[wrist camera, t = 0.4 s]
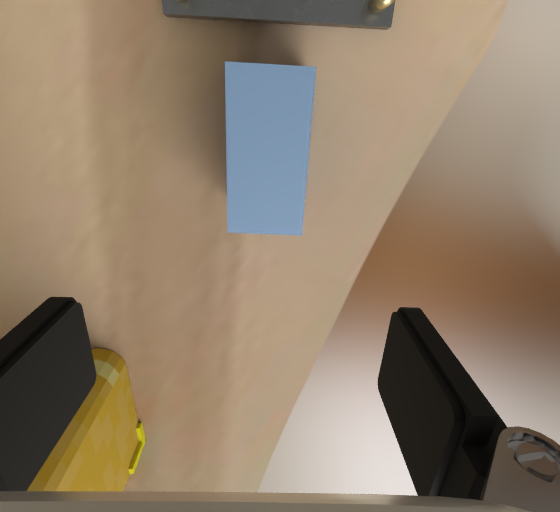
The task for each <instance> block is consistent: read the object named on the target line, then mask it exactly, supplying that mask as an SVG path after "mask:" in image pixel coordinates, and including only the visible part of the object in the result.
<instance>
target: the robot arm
mask: <svg viewBox="0 0 560 512" xmlns="http://www.w3.org/2000/svg"><path fill="white" fill-rule="evenodd" d="M95 381H96V369H95V364H94V359H93V355H92V350H91V346H90V341H89V336H88V332H87V327H86V323H85V318H84V313H83V309H82V305H81V304H80V303H78V302H76V300H75V299H74V298H72V297H50V298H48V299H47V300H46V301H45V302H44V303H42V304H41V305H40V306H39V307H38V308H37V309H35V310H34V311H33V312H32V313H31V314H30V315H28V316H27V317H26V318H25V319H24V320H23V321H21V322H20V323H19V324H18V325H17V326H16V327H14V328H13V329H12V330H11V331H10V332H9V333H7V334H6V335H5V336H4V337H3V338H2V339H0V512H560V445H559V444H557V443H556V442H555V441H553V440H552V439H550V438H548V437H547V436H545V435H543V434H541V433H539V432H536V431H534V430H531V429H529V428H523V427H507V426H506V425H505V423H504V422H503V421H502V419H501V418H500V417H499V415H498V414H497V412H496V411H495V410H494V408H493V407H492V406H491V404H490V403H489V401H488V400H487V399H486V397H485V396H484V395H483V393H482V392H481V391H480V389H479V388H478V386H477V385H476V384H475V382H474V381H473V380H472V378H471V377H470V375H469V374H468V373H467V372H466V370H465V369H464V367H463V366H462V365H461V363H460V362H459V360H458V359H457V358H456V356H455V355H454V354H453V353H452V351H451V350H450V348H449V347H448V346H447V344H446V343H445V342H444V340H443V339H442V337H441V336H440V335H439V333H438V332H437V331H436V329H435V328H434V327H433V325H432V324H431V322H430V321H429V320H428V318H427V317H426V315H425V314H424V313H423V311H422V310H421V309H420V308H407V307H401V308H399V309H398V311H397V312H393V313H392V316H391V320H390V325H389V329H388V334H387V339H386V344H385V348H384V353H383V358H382V363H381V367H380V372H379V377H378V389H379V392H380V395H381V398H382V401H383V403H384V406H385V409H386V411H387V414H388V417H389V420H390V422H391V425H392V428H393V430H394V433H395V435H396V438H397V441H398V444H399V446H400V449H401V452H402V454H403V457H404V460H405V462H406V465H407V468H408V470H409V473H410V476H411V478H412V481H413V484H414V487H415V489H416V492H417V494H418V496H407V495H377V494H319V493H318V494H317V493H316V494H315V493H246V492H132V491H27V490H28V488H29V487H30V485H31V483H32V482H33V480H34V479H35V477H36V476H37V474H38V472H39V471H40V469H41V468H42V466H43V465H44V463H45V461H46V460H47V458H48V457H49V455H50V454H51V452H52V450H53V449H54V447H55V446H56V444H57V443H58V441H59V439H60V438H61V436H62V435H63V433H64V432H65V430H66V428H67V427H68V425H69V424H70V422H71V421H72V419H73V418H74V416H75V414H76V413H77V411H78V410H79V408H80V407H81V405H82V403H83V402H84V400H85V399H86V397H87V396H88V394H89V392H90V391H91V389H92V388H93V386H94V384H95Z"/></svg>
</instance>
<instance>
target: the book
mask: <svg viewBox="0 0 560 512" xmlns="http://www.w3.org/2000/svg"><path fill="white" fill-rule="evenodd" d="M91 350H92V355H93V359H94V364H95V369H96V381H95V384H94V386H93V388H92V389H91V391H90V392H89V394H88V396H87V397H86V399H85V400H84V402H83V403H82V405H81V407H80V408H79V410H78V411H77V413H76V414H75V416H74V418H73V419H72V421H71V422H70V424H69V425H68V427H67V428H66V430H65V432H64V433H63V435H62V436H61V438H60V439H59V441H58V443H57V444H56V446H55V447H54V449H53V450H52V452H51V454H50V455H49V457H48V458H47V460H46V461H45V463H44V465H43V466H42V468H41V469H40V471H39V472H38V474H37V476H36V477H35V479H34V480H33V482H32V483H31V485H30V487H29V488H28V490H27V491H124V488H125V486H126V483H127V480H128V478H129V475H130V474H134V471H135V468H136V466H137V463H138V460H139V458H140V455H141V452H142V449H143V447H144V444H145V441H146V439H145V434H144V430H143V425H142V422H138V418H137V413H136V409H135V404H134V399H133V395H132V390H131V386H130V381H129V376H128V372H127V367H126V363H125V362H124V360H123V359H122V358H121V356H119V355H118V354H116V353H115V352H113V351H110V350H107V349H104V348H94V349H91Z"/></svg>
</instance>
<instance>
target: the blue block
mask: <svg viewBox="0 0 560 512" xmlns="http://www.w3.org/2000/svg"><path fill="white" fill-rule="evenodd" d="M315 75H316V67H311V66H294V65H277V64H261V63H244V62H227V61H225V99H226V162H227V225H228V233H252V234H277V235H302V229H303V217H304V205H305V193H306V182H307V170H308V158H309V146H310V134H311V122H312V110H313V99H314V87H315Z"/></svg>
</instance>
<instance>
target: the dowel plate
mask: <svg viewBox="0 0 560 512" xmlns="http://www.w3.org/2000/svg"><path fill="white" fill-rule="evenodd" d="M162 4H163V14H164V15H166V16H167V17H178V18H195V19H213V20H230V21H247V22H264V23H281V24H299V25H316V26H333V27H350V28H367V29H385V30H387V29H388V28H390V27H391V24H392V18H393V11H394V5H395V0H162Z"/></svg>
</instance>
